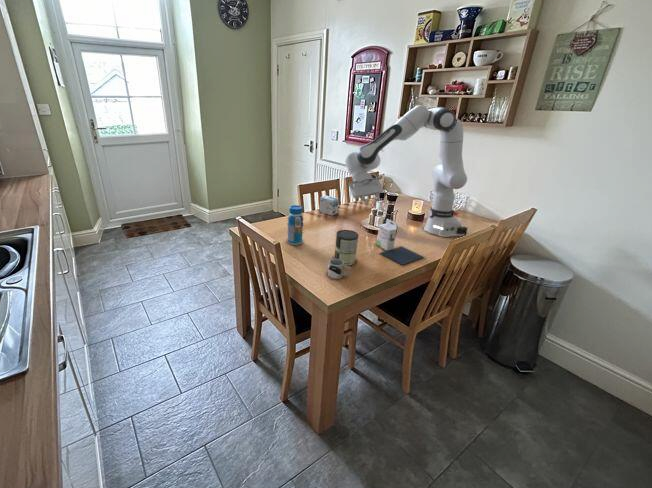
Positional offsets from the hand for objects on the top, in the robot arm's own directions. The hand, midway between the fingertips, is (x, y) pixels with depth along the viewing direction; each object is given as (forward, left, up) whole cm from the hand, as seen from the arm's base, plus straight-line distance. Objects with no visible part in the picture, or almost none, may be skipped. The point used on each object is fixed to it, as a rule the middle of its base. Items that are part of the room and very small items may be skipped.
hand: (372, 202), depth 175 cm
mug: (+22, +41, -22) cm, 52 cm away
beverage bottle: (+41, +6, -22) cm, 47 cm away
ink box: (-7, +10, -22) cm, 25 cm away
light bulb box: (+17, -42, -22) cm, 50 cm away
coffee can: (+17, +26, -22) cm, 38 cm away
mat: (-13, +20, -21) cm, 32 cm away
